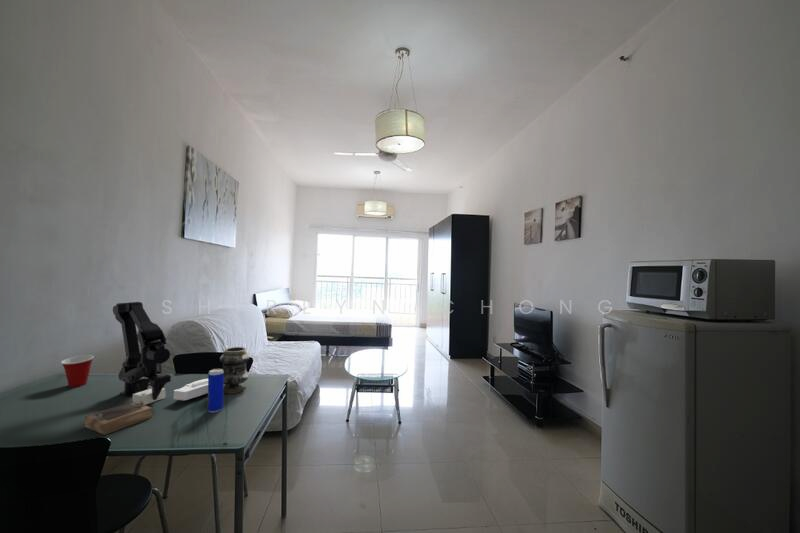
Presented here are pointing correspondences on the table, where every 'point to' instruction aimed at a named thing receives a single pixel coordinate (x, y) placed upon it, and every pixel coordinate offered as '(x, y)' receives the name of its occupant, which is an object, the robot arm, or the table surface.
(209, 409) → the beverage can
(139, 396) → the white block
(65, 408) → the table surface
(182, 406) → the table surface
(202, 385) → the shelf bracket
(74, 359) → the plastic cup
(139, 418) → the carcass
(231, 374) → the apothecary jar
